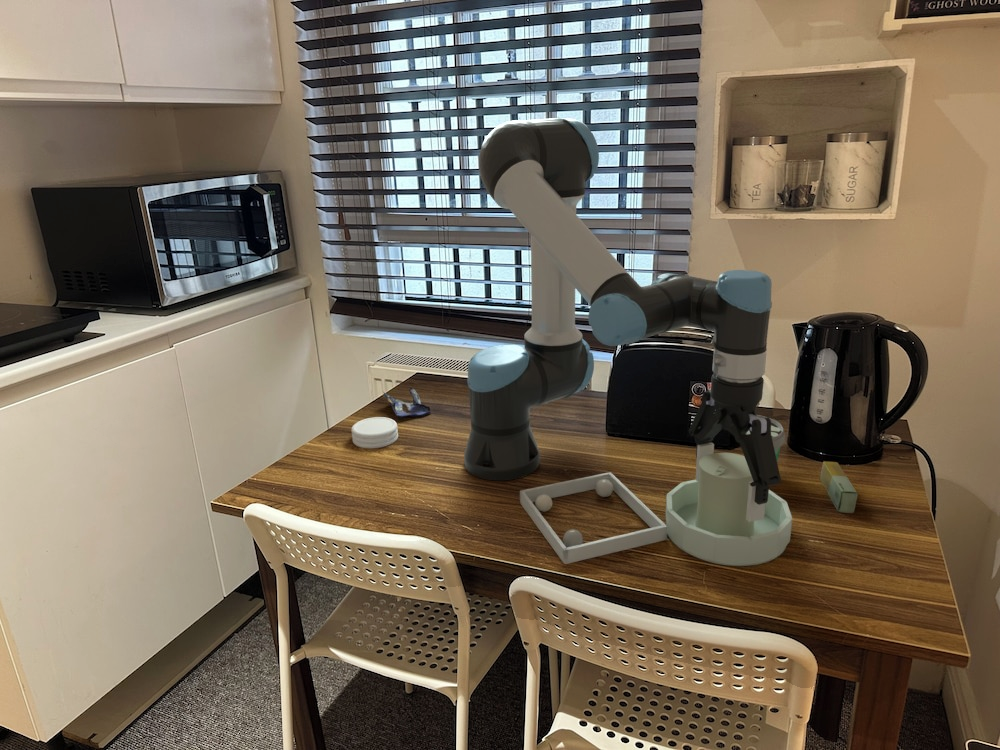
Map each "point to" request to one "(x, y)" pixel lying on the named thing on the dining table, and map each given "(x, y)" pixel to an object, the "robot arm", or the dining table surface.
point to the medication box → (838, 487)
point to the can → (724, 495)
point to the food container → (775, 435)
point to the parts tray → (600, 546)
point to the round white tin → (374, 432)
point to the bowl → (726, 548)
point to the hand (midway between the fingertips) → (727, 498)
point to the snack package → (409, 406)
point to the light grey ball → (604, 488)
